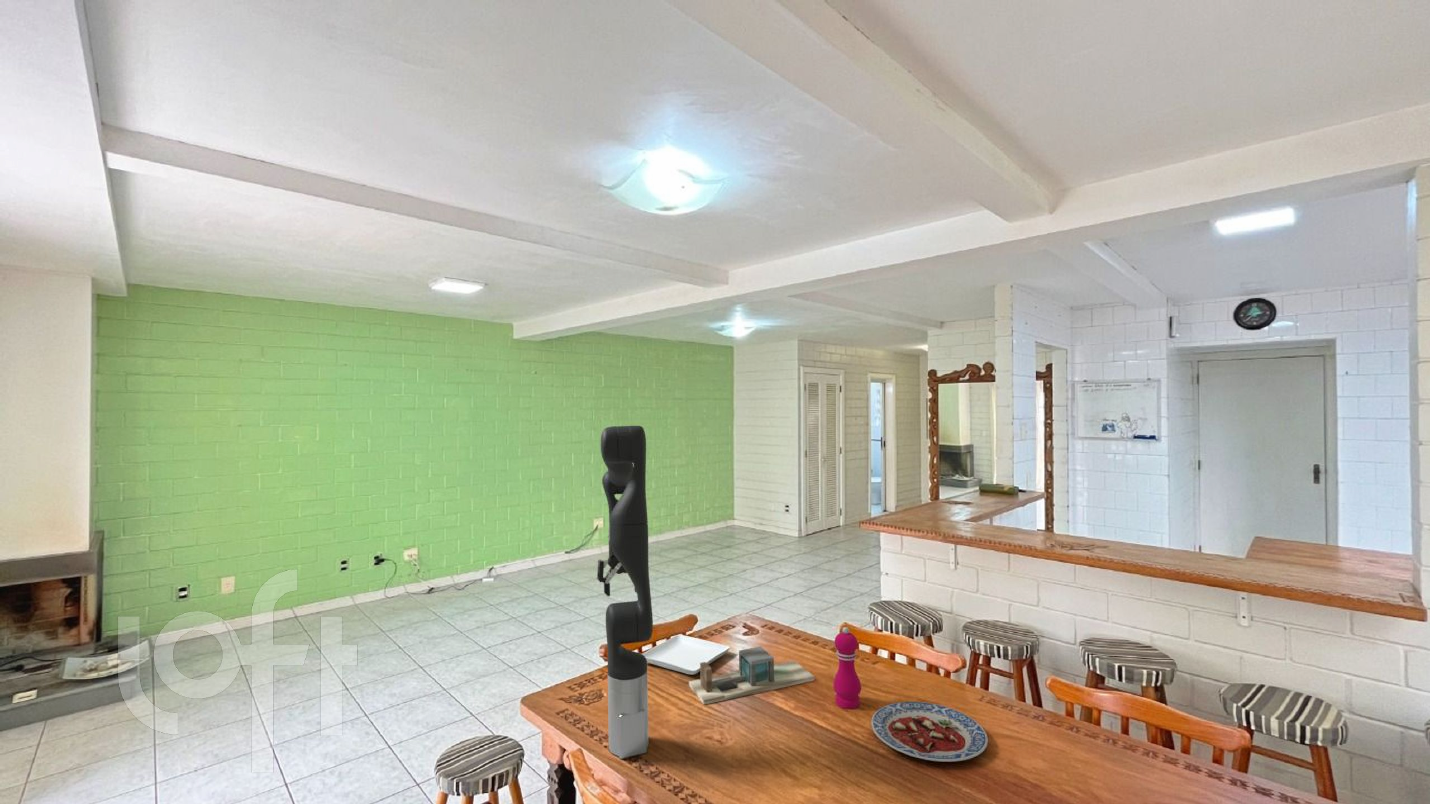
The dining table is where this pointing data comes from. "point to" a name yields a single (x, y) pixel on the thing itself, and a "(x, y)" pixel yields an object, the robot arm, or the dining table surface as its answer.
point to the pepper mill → (846, 671)
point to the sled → (760, 672)
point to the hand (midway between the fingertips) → (622, 593)
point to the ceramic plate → (929, 731)
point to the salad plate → (685, 653)
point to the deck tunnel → (753, 678)
